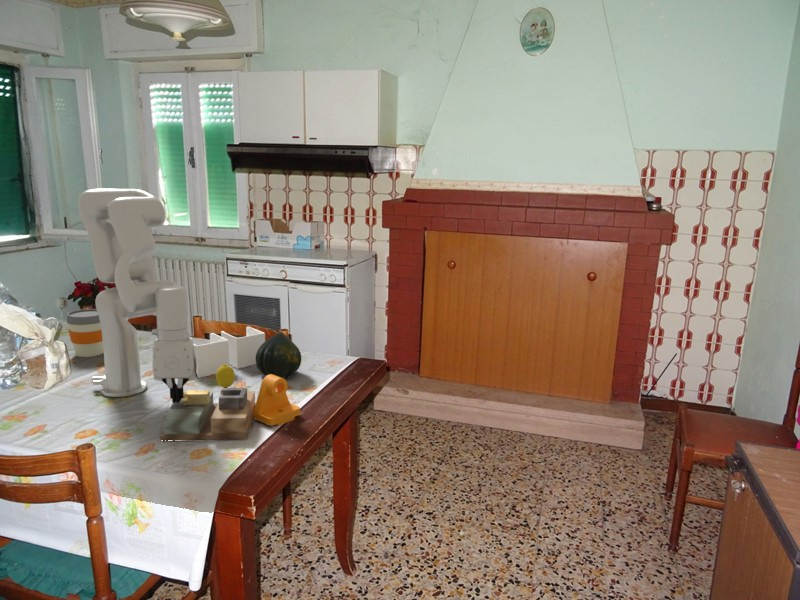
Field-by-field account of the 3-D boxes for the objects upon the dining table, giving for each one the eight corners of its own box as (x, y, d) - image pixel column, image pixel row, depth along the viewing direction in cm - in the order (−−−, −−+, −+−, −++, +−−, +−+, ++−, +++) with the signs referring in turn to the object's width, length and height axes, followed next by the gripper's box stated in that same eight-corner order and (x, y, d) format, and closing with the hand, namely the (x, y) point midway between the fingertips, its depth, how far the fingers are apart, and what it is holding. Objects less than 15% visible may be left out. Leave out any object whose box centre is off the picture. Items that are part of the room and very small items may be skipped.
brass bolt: (182, 408, 145) (181, 397, 145) (186, 400, 150) (186, 390, 149) (206, 407, 146) (205, 396, 145) (209, 400, 151) (209, 389, 150)
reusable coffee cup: (98, 359, 197) (94, 317, 194) (62, 358, 197) (58, 316, 194) (116, 348, 209) (113, 309, 206) (82, 347, 209) (79, 308, 206)
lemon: (229, 393, 172) (228, 368, 170) (213, 391, 173) (212, 366, 171) (238, 386, 177) (237, 362, 175) (222, 384, 178) (221, 360, 176)
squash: (262, 371, 175) (289, 331, 180) (240, 360, 186) (266, 323, 191) (292, 392, 184) (317, 354, 188) (270, 381, 195) (294, 345, 199)
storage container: (198, 378, 183) (197, 346, 181) (183, 369, 191) (182, 338, 188) (265, 362, 201) (264, 333, 198) (249, 355, 208) (248, 326, 206)
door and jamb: (160, 441, 140) (158, 409, 138) (181, 408, 159) (180, 379, 157) (247, 439, 142) (246, 407, 140) (257, 407, 162) (256, 379, 160)
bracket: (270, 429, 149) (270, 386, 146) (253, 421, 153) (252, 379, 151) (301, 416, 157) (301, 376, 155) (284, 409, 162) (284, 369, 159)
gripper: (138, 337, 140) (142, 406, 144) (200, 337, 141) (203, 406, 145) (147, 329, 147) (152, 395, 151) (206, 329, 149) (209, 395, 153)
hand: (177, 400), depth 148 cm, fingers closed
